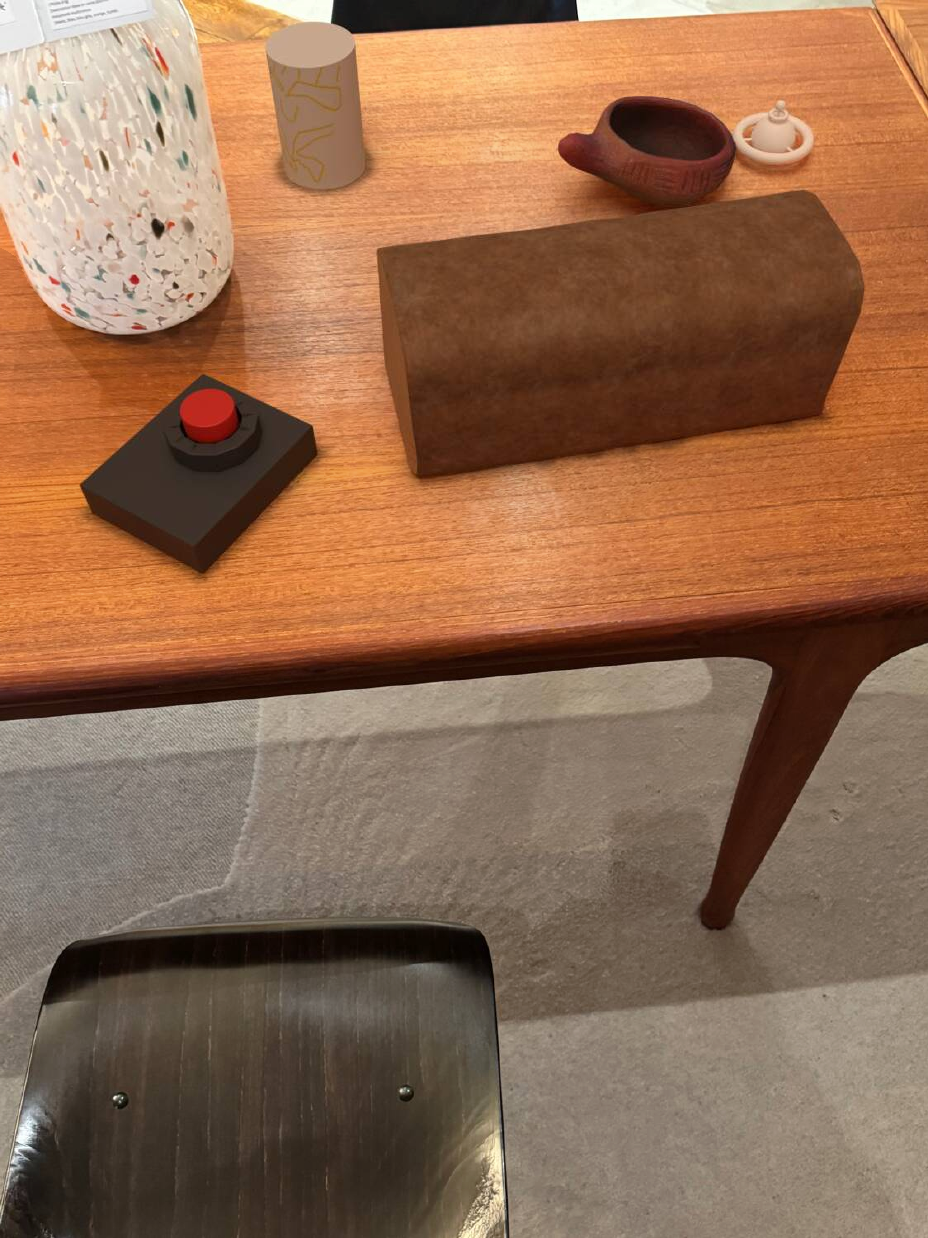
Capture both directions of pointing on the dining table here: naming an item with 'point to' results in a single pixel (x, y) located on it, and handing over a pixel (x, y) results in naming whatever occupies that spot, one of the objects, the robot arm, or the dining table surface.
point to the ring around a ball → (773, 137)
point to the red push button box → (200, 477)
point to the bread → (615, 330)
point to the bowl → (655, 150)
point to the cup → (317, 104)
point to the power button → (209, 415)
